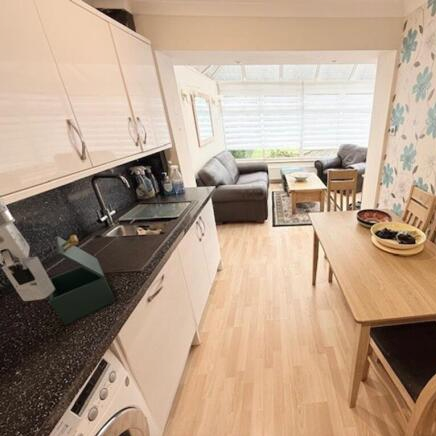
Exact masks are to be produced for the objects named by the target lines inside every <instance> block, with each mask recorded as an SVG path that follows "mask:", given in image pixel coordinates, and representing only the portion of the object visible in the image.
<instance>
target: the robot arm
mask: <svg viewBox="0 0 436 436" xmlns="http://www.w3.org/2000/svg"><path fill="white" fill-rule="evenodd" d="M15 221H16V219H15V218H14V216H13V214H12V213H11V211H10V209H9V208H8V207H7V205H6V203H5V201H4V200H3V199H2V197H1V196H0V265H1V266H4V265H6V266H7V267H8V269H9V271H10V272H11V274H12V276H13V277H14V278H15V280H16V281H17V283H18V284H19V285H23V284H26V283H28V282H31V281H34V280H35V277H34V275H33V274H32V272H31V271H30V269H29V268H26V266H25V264H24V262H23V260H22V259H23V258H24V259H26V258H27V257H29V255H30V245H29V243H28V242H27V240H26V239H25V238H24V236H23V235H22V233H21V232H20V231H19V229H18V228H17V227H16V225H15V224H14V222H15ZM14 259H18V260H15V261H14ZM17 262H19V263H20V265H21V266H20V265H19V264H17V265H16V263H17Z"/></svg>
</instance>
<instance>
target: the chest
mask: <svg viewBox="0 0 436 436" xmlns="http://www.w3.org/2000/svg"><path fill="white" fill-rule="evenodd" d="M49 279H50V281H51V282H52V284H53V286H54V288H55V290H54V291H53V292H52V293H51V294H50V295H49V296H48V301H49V303H50V305H51V306H52V308H53V309H54V310H55V312H56V313H57V315H58V317H59V318H60V319H61V321H62V323H63V324H64V325H65V326H67V325H68V324H71V323H72V322H75V321H77V320H78V319H81V318H83V317H86V316H87V315H89V314H91V313H93V312H95V311H97V310H99V309H102V308H104V307H106V306H108V305H110V304H112V303H114V302H116V299H115V296H114V293H113V290H112V288H111V287H110V284H109V282H108V280H107V278H106V276H105V275H104V277H103V278H102V277H100V276H98V275H96V274H94V273H92V272H90V271H88V270H86V269H84V268H82V267H81V266H78V267H75V268H72V269H69V270H67V271H65V272H61V273H59V274H57V275H54V276H52V277H49Z"/></svg>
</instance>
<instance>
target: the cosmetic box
mask: <svg viewBox="0 0 436 436" xmlns="http://www.w3.org/2000/svg"><path fill="white" fill-rule="evenodd" d="M15 260H18V259H14V261H15ZM22 260H23V262H24V264H25V266H26V268H29V269H30V271H31V272H32V274H33V275H34V277H35V280H34V281H31V282H28V283H26V284H23V285H19V284H18V283H17V281H16V280H15V278H14V277H13V276H12V274H11V272H10V271H9V269H8V267H7V266H6V265H2V266H1V269H2V271H3V272H4V273H5V275H6V277H7V279H8V280H9V281H10V283H11V285H12V286H13V288H14V289H15V290H16V292H17V294H18V295H19V296H20V298H21V300H22V301H23V302H31V301H38V300H44V299H46V298H49V295H50V294H51V293H52V292H53V291H54V290H55V288H54V286H53V284H52V282H51V281H50V279H49V278H50V277H49V275H48V273H47V272H46V269H45V268H44V266H43V264H42V262H41V261H40V258H39V257H38V256H28V257H27V258H26V259H24V258H23V259H22ZM17 264H19V265H20V263H19V262H17V263H16V265H17ZM20 266H21V265H20Z"/></svg>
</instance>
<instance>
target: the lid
mask: <svg viewBox="0 0 436 436" xmlns="http://www.w3.org/2000/svg"><path fill="white" fill-rule="evenodd" d="M54 238H55V246H56V253H57V256H59V257H62V258H63V259H65V260H67V261H69V262H71V263H72V264H74V265H77V266H78V267H82V268H84V269H86V270H88V271H90V272H92V273H94V274H96V275H98V276H100V277H102V278H103V277H104V276H105V273H104V271H103V269H102V267H101V265H100V263H99V260H98V258H97V257H95V256H93V255H91V254H90V253H88V252H87V251H84V250H83V249H82V248H79V247H77V245H79V239H78V237H77V235H75V234H71V235H70V236H69V239H68V240H65V239H63V238H62V237H60V236H58V235H57V236H55V237H54Z"/></svg>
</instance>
